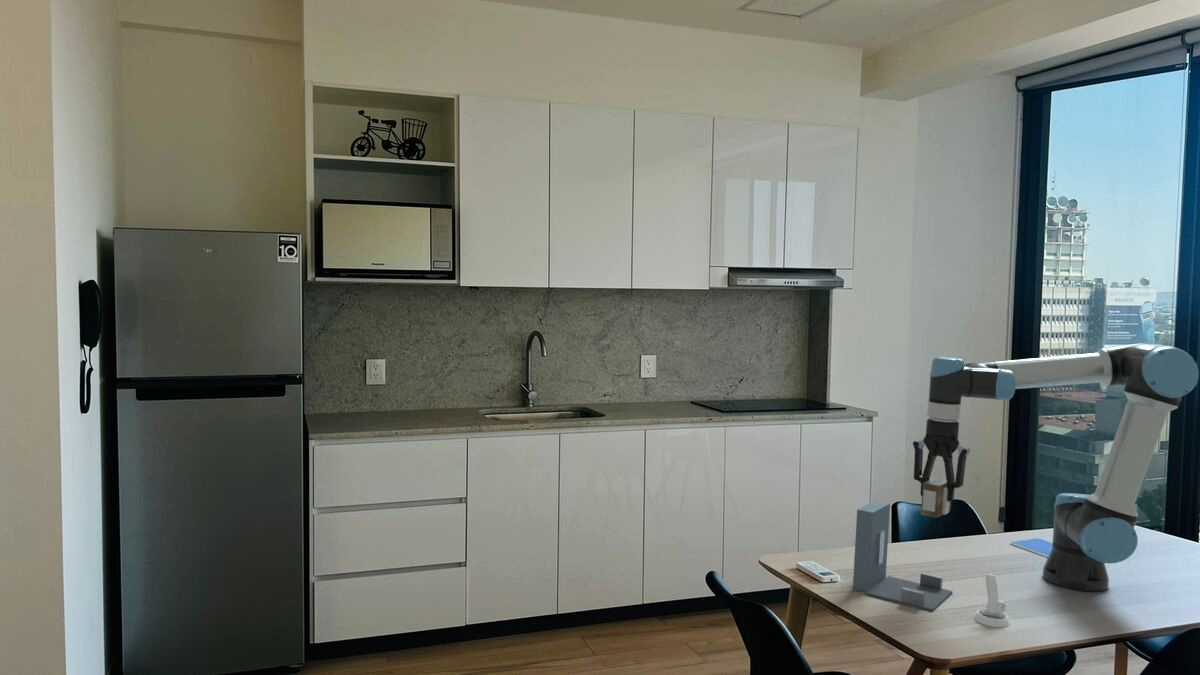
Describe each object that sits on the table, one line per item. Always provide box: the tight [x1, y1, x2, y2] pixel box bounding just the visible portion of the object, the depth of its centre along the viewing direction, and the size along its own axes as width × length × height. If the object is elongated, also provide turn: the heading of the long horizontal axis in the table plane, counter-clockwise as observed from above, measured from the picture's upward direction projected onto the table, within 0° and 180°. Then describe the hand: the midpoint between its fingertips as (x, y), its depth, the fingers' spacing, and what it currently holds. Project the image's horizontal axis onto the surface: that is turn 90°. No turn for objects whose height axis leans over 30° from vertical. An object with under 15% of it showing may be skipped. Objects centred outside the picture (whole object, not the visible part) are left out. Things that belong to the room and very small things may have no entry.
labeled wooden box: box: [920, 476, 952, 519], centre depth 221 cm, size 4×11×8 cm, turn 141°
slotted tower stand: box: [852, 500, 953, 612], centre depth 217 cm, size 20×16×20 cm
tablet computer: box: [1009, 538, 1053, 559], centre depth 256 cm, size 19×13×1 cm, turn 24°
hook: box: [972, 573, 1011, 628], centre depth 203 cm, size 8×12×7 cm
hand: (935, 511), depth 221 cm, fingers closed on labeled wooden box, 4 cm apart
